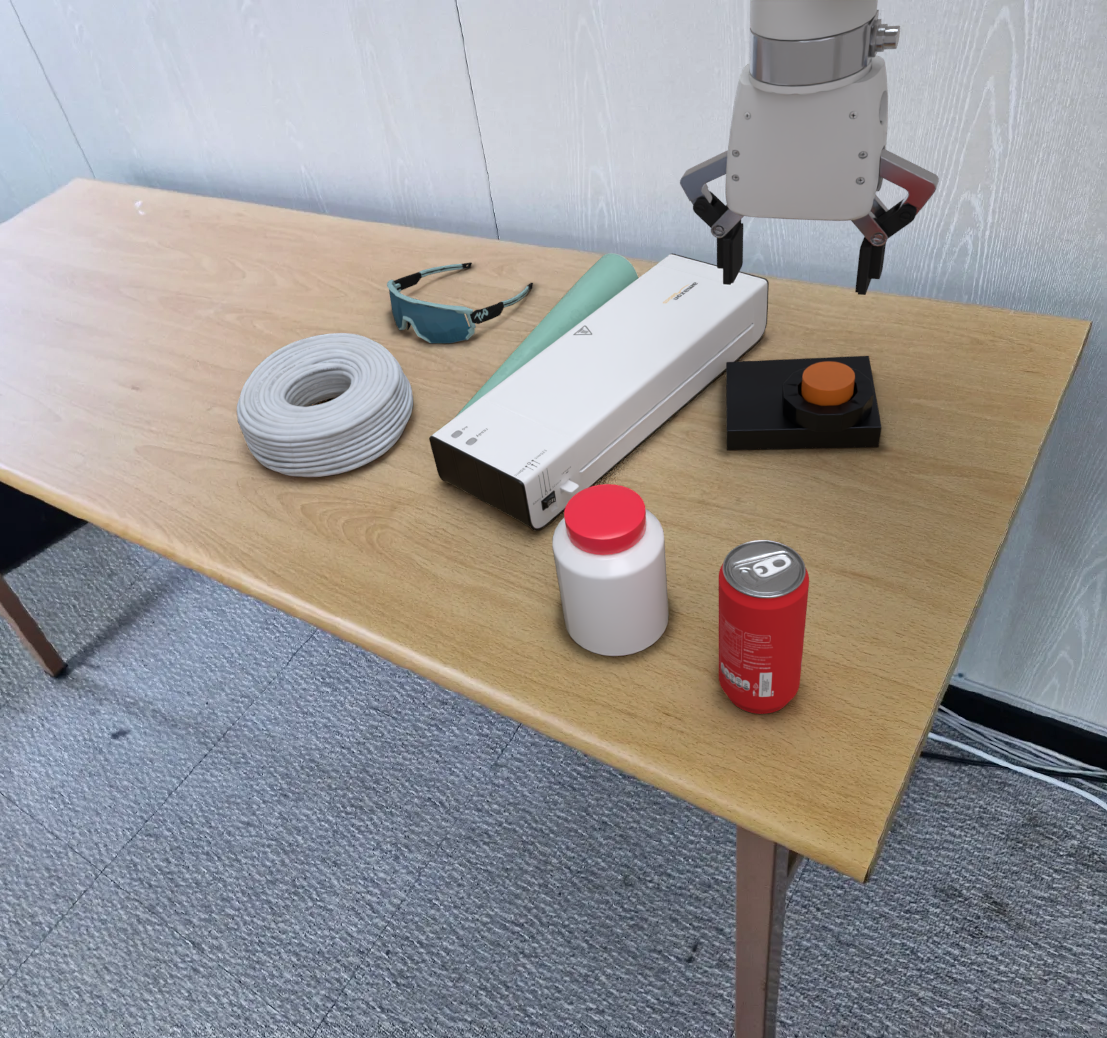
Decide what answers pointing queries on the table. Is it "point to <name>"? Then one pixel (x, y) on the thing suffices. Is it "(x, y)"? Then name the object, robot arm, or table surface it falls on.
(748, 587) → the beverage can
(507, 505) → the laminator
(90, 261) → the table surface
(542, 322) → the long green cone
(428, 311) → the sunglasses
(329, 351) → the cable
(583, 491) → the pill bottle
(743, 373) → the black rectangular base
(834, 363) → the button
